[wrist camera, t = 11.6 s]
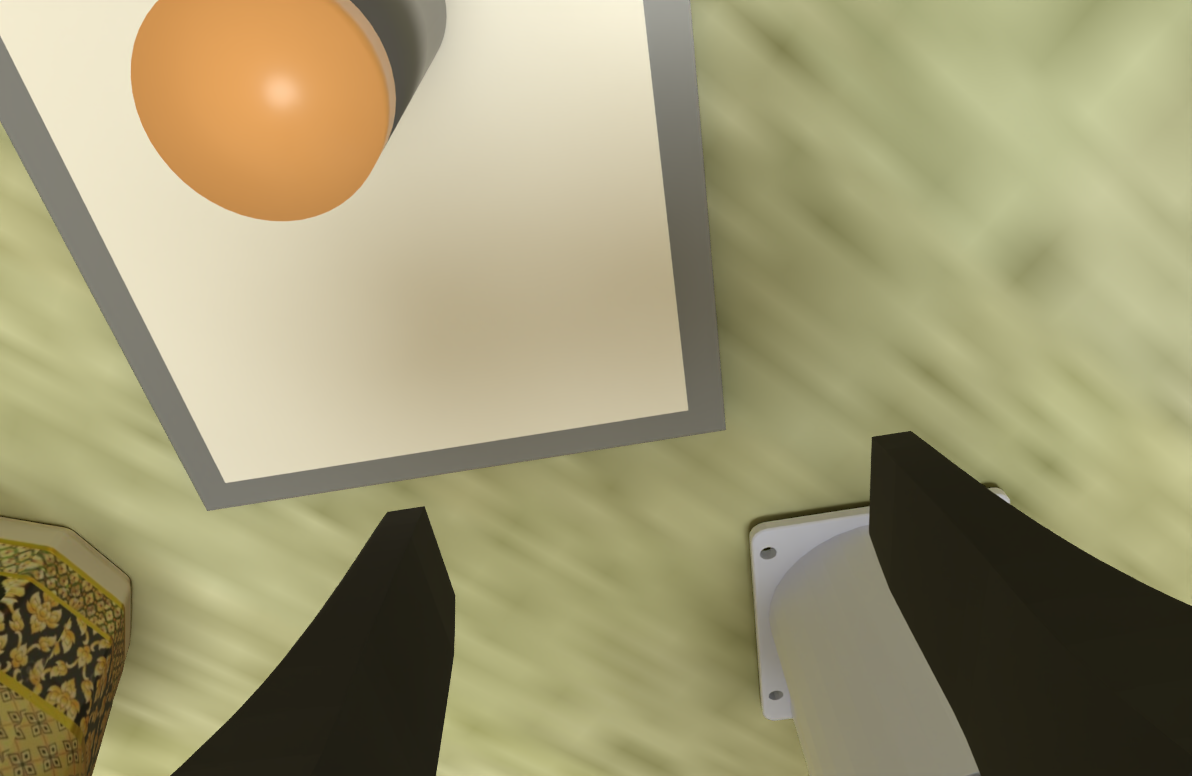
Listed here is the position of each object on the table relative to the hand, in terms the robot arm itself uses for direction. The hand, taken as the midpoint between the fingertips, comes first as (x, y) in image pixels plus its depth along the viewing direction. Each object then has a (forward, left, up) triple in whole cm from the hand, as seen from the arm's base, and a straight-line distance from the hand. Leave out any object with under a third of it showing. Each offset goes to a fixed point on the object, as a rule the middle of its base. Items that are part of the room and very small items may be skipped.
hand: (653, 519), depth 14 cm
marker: (+7, +4, -9) cm, 12 cm away
